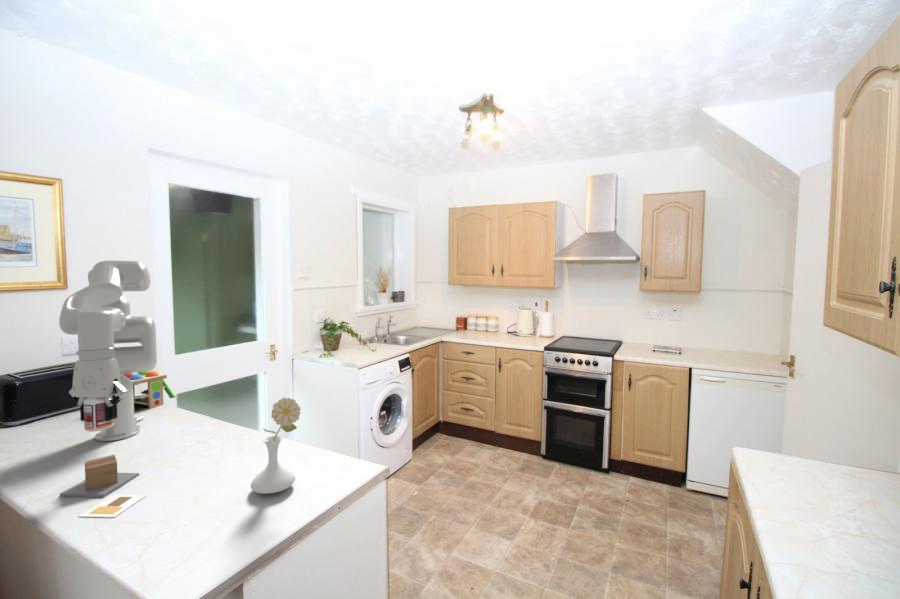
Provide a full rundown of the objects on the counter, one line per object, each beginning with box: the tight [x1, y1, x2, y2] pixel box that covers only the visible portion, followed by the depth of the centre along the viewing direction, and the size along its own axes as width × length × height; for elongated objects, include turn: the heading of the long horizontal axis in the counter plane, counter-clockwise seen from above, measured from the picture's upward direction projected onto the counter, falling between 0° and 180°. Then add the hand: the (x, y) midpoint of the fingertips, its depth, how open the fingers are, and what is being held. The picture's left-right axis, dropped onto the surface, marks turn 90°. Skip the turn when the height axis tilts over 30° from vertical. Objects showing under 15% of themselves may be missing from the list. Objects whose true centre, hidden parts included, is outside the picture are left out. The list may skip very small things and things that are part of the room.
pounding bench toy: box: [124, 370, 180, 409], centre depth 182 cm, size 23×14×18 cm, turn 155°
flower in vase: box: [250, 397, 302, 495], centre depth 115 cm, size 13×11×25 cm
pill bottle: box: [83, 397, 114, 433], centre depth 114 cm, size 6×6×11 cm
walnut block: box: [84, 454, 118, 491], centre depth 115 cm, size 6×6×6 cm
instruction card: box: [77, 494, 147, 519], centre depth 105 cm, size 10×9×1 cm
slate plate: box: [59, 472, 140, 498], centre depth 115 cm, size 12×12×1 cm
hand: (99, 418), depth 115 cm, fingers closed on pill bottle, 6 cm apart
